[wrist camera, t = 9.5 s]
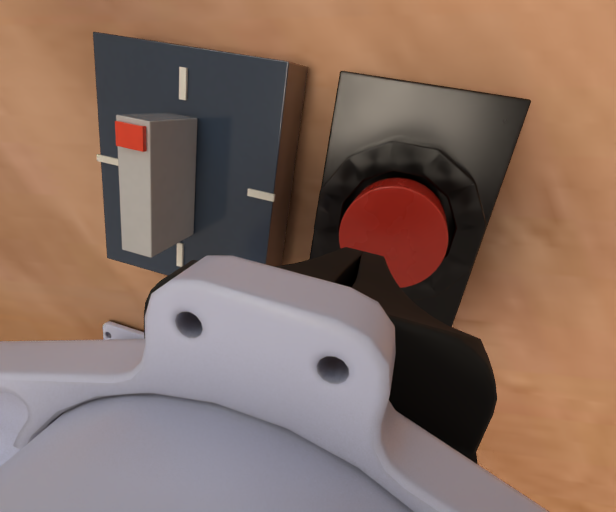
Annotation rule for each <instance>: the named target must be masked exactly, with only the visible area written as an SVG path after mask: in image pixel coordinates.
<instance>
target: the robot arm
mask: <svg viewBox="0 0 616 512" xmlns="http://www.w3.org/2000/svg"><path fill="white" fill-rule="evenodd" d="M103 337H104V340H54V341H0V512H549V511H548V510H546V509H544V508H543V507H541V506H540V505H538V504H537V503H535V502H534V501H532V500H531V499H529V498H528V497H526V496H525V495H523V494H522V493H520V492H519V491H517V490H516V489H514V488H513V487H511V486H510V485H508V484H506V483H505V482H503V481H502V480H500V479H499V478H497V477H496V476H494V475H493V474H491V473H490V472H488V471H487V470H485V469H484V468H482V467H481V466H479V465H478V464H477V456H476V451H477V449H478V447H479V444H480V442H481V440H482V438H483V435H484V433H485V431H486V429H487V427H488V424H489V422H490V420H491V418H492V416H493V413H494V409H495V405H496V401H497V393H496V383H495V379H494V374H493V370H492V367H491V364H490V361H489V358H488V355H487V353H486V351H485V348H484V346H483V344H482V341H481V339H479V338H476V337H474V336H471V335H469V334H466V333H464V332H462V331H459V330H457V329H454V328H452V327H450V326H448V325H446V324H445V323H443V322H441V321H439V320H437V319H436V318H434V317H433V316H431V315H429V314H428V313H427V312H425V311H424V310H423V309H421V308H420V307H419V306H418V305H416V304H415V303H414V302H413V301H412V300H411V299H410V298H409V297H408V296H407V295H406V294H405V293H404V292H403V291H402V289H401V288H400V287H399V285H398V284H397V283H396V281H395V279H394V278H393V276H392V274H391V272H390V270H389V268H388V265H387V263H386V260H385V258H384V256H381V255H377V254H373V253H369V252H365V251H361V250H357V249H353V248H348V247H344V248H341V249H338V250H336V251H333V252H331V253H328V254H325V255H323V256H320V257H317V258H313V259H310V260H307V261H303V262H299V263H295V264H289V265H283V266H269V265H266V264H262V263H258V262H255V261H251V260H247V259H243V258H240V257H236V256H232V255H207V256H205V257H204V258H202V259H201V260H199V261H197V260H191V261H190V262H188V263H187V264H185V265H184V266H182V267H181V268H179V269H178V270H176V271H175V272H173V273H172V274H170V275H169V276H167V277H166V278H164V279H163V280H161V281H160V282H159V283H158V284H157V285H156V286H155V287H154V288H153V289H152V290H151V291H150V294H149V296H148V298H147V300H146V302H145V310H144V332H141V331H138V330H135V329H132V328H129V327H126V326H123V325H120V324H117V323H114V322H110V321H108V322H106V323H105V324H104V325H103Z"/></svg>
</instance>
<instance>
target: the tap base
mask: <svg viewBox="0 0 616 512" xmlns="http://www.w3.org/2000/svg"><path fill="white" fill-rule="evenodd" d="M93 41H94V57H95V73H96V89H97V104H98V120H99V136H100V152H101V154H97V161H99V162H101V168H102V183H103V199H104V215H105V231H106V247H107V258H109V259H113V260H116V261H120V262H123V263H127V264H130V265H133V266H137V267H140V268H144V269H147V270H151V271H154V272H158V273H161V274H165V275H168V276H169V275H170V274H172V273H173V272H175V271H176V270H178V269H179V268H181V267H182V266H184V265H185V264H187V263H188V262H190V261H191V260H197V261H199V260H201V259H202V258H204V257H205V256H207V255H232V256H236V257H240V258H243V259H247V260H251V261H255V262H258V263H262V264H266V265H269V266H282V259H283V252H284V244H285V237H286V229H287V222H288V214H289V207H290V199H291V192H292V184H293V177H294V170H295V162H296V155H297V147H298V140H299V132H300V125H301V117H302V110H303V102H304V95H305V88H306V80H307V73H308V67H306V66H303V65H299V64H295V63H292V62H288V61H282V60H275V59H269V58H262V57H256V56H249V55H243V54H236V53H230V52H223V51H217V50H210V49H203V48H197V47H190V46H184V45H177V44H171V43H164V42H158V41H151V40H145V39H138V38H132V37H125V36H118V35H112V34H105V33H99V32H93ZM148 113H173V114H179V115H184V116H189V117H194V118H197V147H196V176H195V206H194V234H193V235H191V236H190V237H188V238H186V239H184V240H182V241H181V242H179V243H177V244H175V245H173V246H172V247H170V248H168V249H166V250H164V251H163V252H161V253H159V254H157V255H155V256H154V257H147V256H143V255H140V254H136V253H133V252H129V251H126V250H123V249H122V235H121V213H120V190H119V168H118V146H116V134H115V121H116V115H124V114H148Z"/></svg>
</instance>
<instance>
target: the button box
mask: <svg viewBox="0 0 616 512" xmlns="http://www.w3.org/2000/svg"><path fill="white" fill-rule="evenodd" d="M530 103H531V100H528V99H522V98H515V97H509V96H502V95H496V94H489V93H483V92H476V91H470V90H463V89H457V88H450V87H444V86H437V85H431V84H424V83H418V82H411V81H405V80H398V79H392V78H385V77H379V76H372V75H366V74H359V73H353V72H346V71H341V72H340V76H339V82H338V88H337V95H336V101H335V107H334V113H333V119H332V125H331V131H330V137H329V143H328V149H327V155H326V161H325V167H324V174H323V180H322V186H321V190H320V194H319V201H318V207H317V213H316V219H315V225H314V234H313V240H312V246H311V253H310V259H313V258H317V257H320V256H323V255H325V254H328V253H331V252H333V251H336V250H338V249H341V248H340V243H339V229H340V224H341V220H342V218H343V216H344V214H345V212H346V210H347V209H348V207H349V206H350V205H351V204H352V202H353V201H354V200H355V198H356V197H357V196H358V195H359V193H361V192H362V191H363V190H364V189H365V188H366V187H368V186H369V185H371V184H373V183H374V182H377V181H379V180H383V179H387V178H407V179H411V180H414V181H417V182H419V183H421V184H423V185H425V186H426V187H427V188H429V189H430V190H431V191H432V192H433V193H434V194H435V195H436V196H437V197H438V199H439V200H440V202H441V204H442V206H443V208H444V211H445V214H446V220H447V227H448V247H447V251H446V254H445V257H444V259H443V261H442V263H441V264H440V266H439V267H438V268H437V270H436V271H435V272H434V273H433V274H432V275H430V276H429V277H428V278H426V279H425V280H423V281H421V282H420V283H417V284H415V285H412V286H408V287H403V288H401V289H402V291H403V292H404V293H405V294H406V295H407V296H408V297H409V298H410V299H411V300H412V301H413V302H414V303H415V304H416V305H418V306H419V307H420V308H421V309H423V310H424V311H425V312H427V313H428V314H429V315H431V316H433V317H434V318H436V319H437V320H439V321H441V322H443V323H445V324H446V325H448V326H450V327H452V325H453V322H454V319H455V316H456V313H457V310H458V308H459V305H460V302H461V299H462V296H463V293H464V291H465V288H466V285H467V282H468V279H469V276H470V273H471V271H472V268H473V265H474V262H475V259H476V256H477V254H478V251H479V248H480V245H481V242H482V239H483V237H484V234H485V231H486V228H487V225H488V222H489V219H490V217H491V214H492V211H493V208H494V205H495V202H496V200H497V197H498V194H499V191H500V188H501V185H502V183H503V180H504V177H505V174H506V171H507V168H508V165H509V163H510V160H511V157H512V154H513V151H514V148H515V146H516V143H517V140H518V137H519V134H520V131H521V128H522V126H523V123H524V120H525V117H526V114H527V111H528V109H529V106H530ZM310 259H309V260H310Z"/></svg>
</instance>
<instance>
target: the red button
mask: <svg viewBox="0 0 616 512" xmlns="http://www.w3.org/2000/svg"><path fill="white" fill-rule="evenodd" d="M339 243H340V248H344V247H348V248H353V249H357V250H361V251H365V252H369V253H373V254H377V255H381V256H384V258H385V260H386V263H387V265H388V268H389V270H390V272H391V274H392V276H393V278H394V279H395V281H396V283H397V284H398V285H399V287H400V288H403V287H408V286H412V285H415V284H417V283H420V282H421V281H423V280H425V279H426V278H428V277H429V276H430V275H432V274H433V273H434V272H435V271H436V270H437V268H438V267H439V266H440V264H441V263H442V261H443V259H444V257H445V254H446V251H447V247H448V227H447V220H446V214H445V211H444V208H443V206H442V204H441V202H440V200H439V199H438V197H437V196H436V195H435V194H434V193H433V192H432V191H431V190H430V189H429V188H427V187H426V186H425V185H423V184H421V183H419V182H417V181H414V180H411V179H407V178H387V179H383V180H379V181H377V182H374V183H373V184H371V185H369V186H368V187H366V188H365V189H364V190H363V191H362V192H361V193H359V195H358V196H357V197H356V198H355V200H354V201H353V202H352V204H351V205H350V206H349V207H348V209H347V210H346V212H345V214H344V216H343V218H342V220H341V224H340V229H339Z"/></svg>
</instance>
